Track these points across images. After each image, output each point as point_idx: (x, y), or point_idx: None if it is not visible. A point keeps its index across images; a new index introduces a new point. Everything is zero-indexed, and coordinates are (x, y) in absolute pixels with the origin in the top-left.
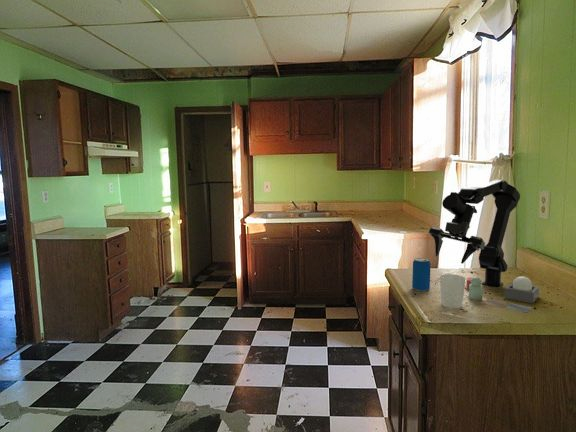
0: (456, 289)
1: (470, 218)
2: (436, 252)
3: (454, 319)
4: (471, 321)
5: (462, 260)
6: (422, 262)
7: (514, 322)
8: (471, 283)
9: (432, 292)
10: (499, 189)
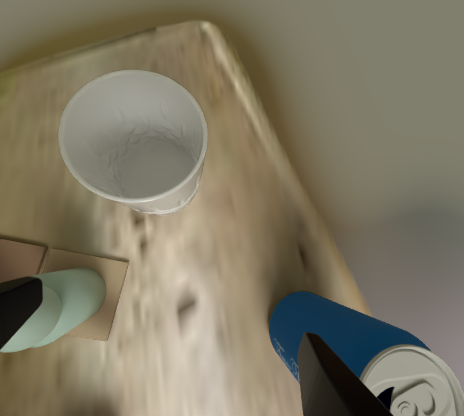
0: (124, 108)
1: None
2: (332, 358)
3: (141, 60)
4: (91, 61)
5: (6, 287)
6: (380, 345)
7: None
8: (56, 293)
9: (252, 311)
10: None
